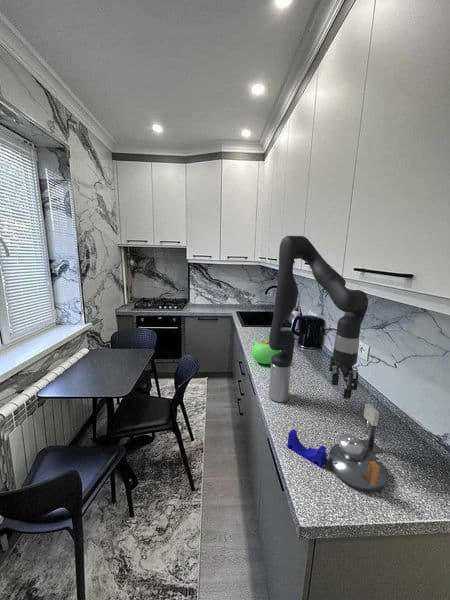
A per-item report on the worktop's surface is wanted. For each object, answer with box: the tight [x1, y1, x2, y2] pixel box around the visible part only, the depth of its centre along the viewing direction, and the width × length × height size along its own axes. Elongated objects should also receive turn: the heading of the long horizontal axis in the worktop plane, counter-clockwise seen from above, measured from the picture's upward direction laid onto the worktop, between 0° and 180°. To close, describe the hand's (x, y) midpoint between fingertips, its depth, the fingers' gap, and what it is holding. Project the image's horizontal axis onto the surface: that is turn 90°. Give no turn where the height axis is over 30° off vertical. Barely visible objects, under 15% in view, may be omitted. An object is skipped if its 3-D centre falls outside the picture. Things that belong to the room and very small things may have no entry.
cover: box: [338, 433, 364, 461], centre depth 81 cm, size 7×7×5 cm
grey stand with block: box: [360, 403, 384, 454], centre depth 87 cm, size 6×5×16 cm
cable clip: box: [287, 428, 328, 468], centre depth 84 cm, size 12×4×6 cm, turn 45°
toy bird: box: [251, 339, 281, 365], centre depth 156 cm, size 18×17×15 cm
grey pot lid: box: [328, 443, 388, 492], centre depth 78 cm, size 16×16×8 cm
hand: (340, 391), depth 87 cm, fingers open, 8 cm apart
